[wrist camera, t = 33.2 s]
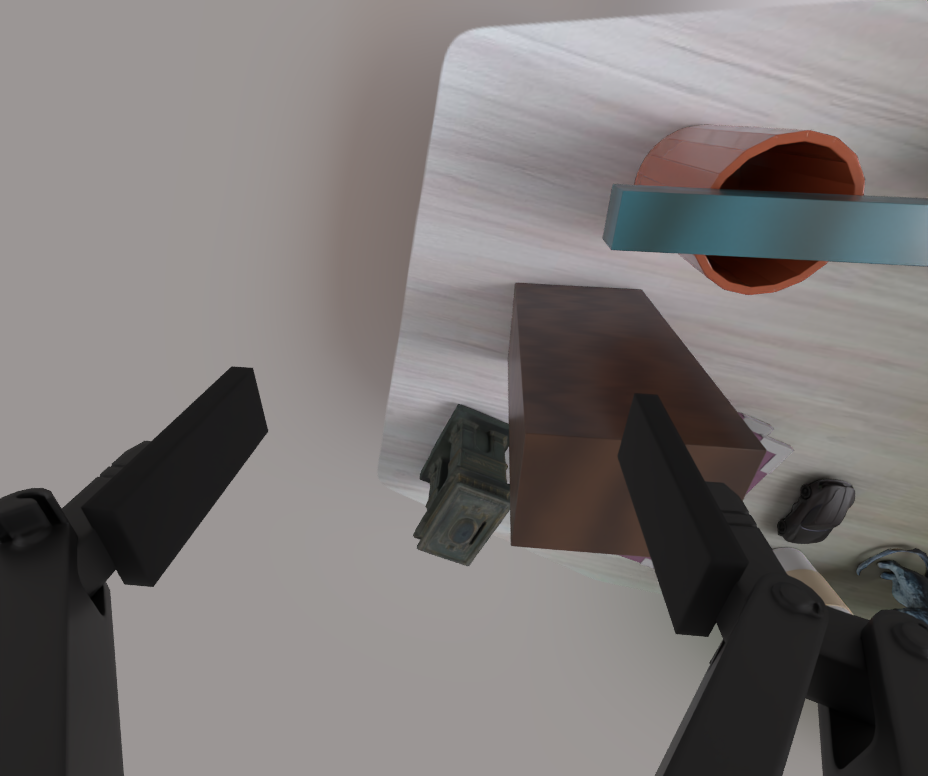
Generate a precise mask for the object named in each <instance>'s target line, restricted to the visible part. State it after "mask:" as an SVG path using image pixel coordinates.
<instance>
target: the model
mask: <svg viewBox="0 0 928 776" xmlns="http://www.w3.org/2000/svg"><path fill="white" fill-rule="evenodd" d="M508 447H509V424H507V423H504V422H502V421H500V420H497V419H495V418H493V417H490V416H488V415H485V414H483V413H481V412H478V411H476V410H473V409H471V408H468V407H465V406H463V405H460V404H458V406H457V408H456V409H455V411H454V413H453V415H452V416H451V418H450V420H449V421H448V423H447V425H446V427H445V428H444V430H443V432H442V434H441V436H440V437H439V439H438V441H437V442H436V444H435V446H434V448H433V450H432V452H431V454H430V456H429V458H428V460H427V462H426V464H425V465H424V467H423V469H422V471H421V473H420V480H423V481H425V482H428V483H430V491H429V500H428V502H427V504H426V508H427V512H426V513H425V515H424V516H423V518H422V520H421V522H420V523H419V525H418V526H417V528H416V530H415V532H414V534H413V536H414V538H417V539H421V540H420V542H419V543H418V545H417V549H418V550H421V551H424V552H427V553H429V554H432V555H435V556H438V557H441V558H444V559H448V560H450V561H454V562H456V563H460V564H463V565H466V566H469V565H470V564H471V562H472V561H473V560H474V558H475V557H476V555H477V554H478V553H479V551H480V550H481V549H482V547H483V546H484V544H485V543H486V542H487V541H488V539H489V538H490V536H491V535H492V534H493V532H494V531H495V530H496V528H497V527H498V526H499V524H500V523H501V521H502V520H503V519H504V517H505V516H506V514H507V513H508V512H509V510H510V484H507V479H506V470H507V468H508V465H507V464H506V462H505V452H506V450H507V448H508Z"/></svg>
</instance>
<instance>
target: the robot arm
mask: <svg viewBox="0 0 928 776" xmlns="http://www.w3.org/2000/svg"><path fill="white" fill-rule="evenodd" d="M267 432H268V429H267V425H266V420H265V416H264V412H263V408H262V404H261V399H260V395H259V391H258V387H257V383H256V379H255V375H254V370H253V368H246V367H231V368H230V369H229V370H227V371H226V372H225V373H224V374H223V375H222V376H221V377H220V378H219V379H218V380H217V381H216V382H215V383H214V384H212V385H211V386H210V387H209V388H208V389H207V390H206V391H205V392H204V393H203V394H202V395H201V396H200V397H198V398H197V399H196V400H195V401H194V402H193V403H192V404H191V405H190V406H189V407H188V408H187V409H186V410H185V411H183V412H182V414H181V415H179V416H178V417H177V418H176V419H175V420H174V421H173V422H172V423H171V424H170V425H168V426H167V427H166V428H165V429H164V430H163V431H162V432H161V433H160V434H159V435H158V436H157V437H156V438H154V439H153V441H144V442H142V443H140V444H138V445H137V446H135V447H133V448H131V449H129V450H127V451H126V452H124V454H122V455H121V456H120V457H119V458H118V459H117V460H116V461H114V462H113V463H112V466H111V467H108V468H107V469H106V470H104V471H103V472H102V473H101V474H100V477H97V478H95V479H94V480H93V481H92V482H91V483H90V484H89V485H88V486H87V487H85V488H84V489H83V490H82V491H81V492H80V493H79V494H78V495H76V496H75V497H74V498H73V499H72V500H71V501H70V502H69V503H68V504H67V505H66V506H64V507H63V508H62V509H61V507H60V505H59V504H58V502H57V501H56V499H55V497H54V496H53V494H52V492H51V491H49V490H47V489H44V488H31V489H26V490H22V491H18V492H15V493H12V494H10V495H7V496H5V497H2V498H1V499H0V776H124V772H123V758H122V745H121V731H120V717H119V704H118V692H117V691H118V690H117V677H116V665H115V664H116V663H115V650H114V637H113V623H112V610H111V596H110V589H109V587H108V585H107V583H106V580H107V579H108V578H109V577H110V576H111V575H112V573H113V572H114V571H115V570H117V572H118V574H119V576H120V577H121V579H122V581H123V583H124V584H127V585H138V586H149V587H154V585H155V584H156V582H157V581H158V580H159V578H160V577H161V576H162V574H163V573H164V572H165V570H166V569H167V567H168V566H169V565H170V564H171V562H172V561H173V560H174V558H175V557H176V555H177V554H178V553H179V551H180V550H181V549H182V547H183V546H184V545H185V543H186V542H187V540H188V539H189V538H190V537H191V535H192V534H193V532H194V531H195V530H196V528H197V527H198V526H199V524H200V523H201V522H202V520H203V519H204V518H205V516H206V515H207V514H208V512H209V511H210V509H211V508H212V507H213V505H214V504H215V503H216V501H217V500H218V499H219V497H220V496H221V495H222V493H223V492H224V491H225V489H226V488H227V486H228V485H229V484H230V482H231V481H232V480H233V478H234V477H235V476H236V474H237V473H238V472H239V470H240V469H241V468H242V466H243V465H244V463H245V462H246V461H247V459H248V458H249V457H250V455H251V454H252V453H253V451H254V450H255V449H256V447H257V446H258V445H259V443H260V442H261V440H262V439H263V438H264V436H265V435H266V434H267ZM617 457H618V460H619V463H620V467H621V470H622V473H623V476H624V479H625V482H626V485H627V488H628V491H629V494H630V497H631V500H632V503H633V506H634V509H635V512H636V515H637V518H638V521H639V524H640V527H641V530H642V533H643V536H644V539H645V542H646V545H647V548H648V551H649V554H650V557H651V560H652V563H653V566H654V569H655V572H656V575H657V578H658V581H659V585H660V588H661V591H662V594H663V597H664V600H665V603H666V606H667V608H668V612H669V615H670V618H671V621H672V624H673V627H674V630H675V633H676V634H682V635H693V636H704V637H708V636H709V634H710V633H711V631H712V629H713V627H714V625H715V624H716V623H717V625H718V627H719V630H720V632H721V635H722V637H723V641H722V642H721V644H720V646H719V648H718V649H717V651H716V653H715V654H714V656H713V658H712V660H711V661H710V666H709V668H708V670H707V672H706V674H705V676H704V678H703V680H702V682H701V684H700V686H699V688H698V690H697V692H696V694H695V696H694V698H693V700H692V702H691V704H690V706H689V708H688V710H687V712H686V714H685V716H684V718H683V720H682V722H681V724H680V726H679V728H678V730H677V732H676V734H675V736H674V738H673V740H672V742H671V744H670V747H669V748H668V750H667V752H666V754H665V756H664V758H663V760H662V762H661V764H660V766H659V768H658V770H657V772H656V774H655V776H782V775H783V771H784V768H785V765H786V761H787V758H788V755H789V751H790V747H791V745H792V741H793V738H794V735H795V731H796V728H797V725H798V721H799V718H800V715H801V711H802V708H803V705H804V701H805V698H806V699H809V700H811V701H814V702H816V703H818V712H819V727H820V740H821V755H822V769H823V776H928V624H926V623H925V622H923V621H921V620H919V619H917V618H915V617H913V616H911V615H909V614H907V613H904V612H900V611H896V610H881V611H879V612H878V613H876V614H875V615H874V616H873V617H872V618H871V620H867V619H864V618H861V617H858V616H855V615H852V614H849V613H846V612H843V611H840V610H837V609H834V608H832V607H829V606H827V605H825V603H824V601H823V599H822V598H821V597H820V596H819V595H818V594H817V593H816V592H815V591H814V590H813V589H812V588H811V587H809V586H808V585H806V584H805V583H803V582H802V581H800V580H798V579H796V578H794V577H791V576H789V575H788V574H787V573H786V571H785V570H784V568H783V567H782V565H781V563H780V562H779V560H778V558H777V557H776V555H775V553H774V552H773V550H772V549H771V547H770V545H769V544H768V542H767V540H766V539H765V537H764V536H763V534H762V532H761V531H760V529H759V528H757V526H756V525H757V524H756V523H755V521H754V519H753V518H752V516H751V515H749V511H748V510H747V508H746V506H745V505H744V503H743V501H742V500H741V498H740V497H739V496H738V495H737V494H736V493H735V492H734V491H733V490H731V489H730V488H729V487H728V486H727V485H726V484H725V483H721V482H707V481H705V480H704V479H703V477H702V475H701V473H700V471H699V469H698V468H697V466H696V464H695V462H694V460H693V458H692V457H691V455H690V453H689V451H688V449H687V447H686V446H685V444H684V442H683V440H682V438H681V436H680V435H679V433H678V431H677V429H676V427H675V426H674V424H673V422H672V420H671V418H670V416H669V415H668V413H667V411H666V409H665V407H664V405H663V404H662V402H661V400H660V398H659V396H658V395H657V394H642V393H634V396H633V400H632V404H631V407H630V411H629V415H628V418H627V422H626V426H625V430H624V433H623V437H622V441H621V444H620V448H619V452H618V456H617Z"/></svg>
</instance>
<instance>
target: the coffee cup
mask: <svg viewBox="0 0 928 776" xmlns="http://www.w3.org/2000/svg"><path fill="white" fill-rule="evenodd" d="M773 552H774V553H775V555H776V557H777V558H778V560H779V562H780V563H781V565H782V567H783V568H784V570H785V571H786V573H787V574H788V575H789V576H791V577H794V578H796V579H798V580H800V581H802V582H803V583H805V584H806V585H808V586H809V587H811V588H812V589H813V590H814V591H815V592H816V593H817V594H818V595H819V596H820V597H821V598H822V599H823V601H824V603H825V605H827V606H829V607H832V608H834V609H837V610H840V611H843V612H846V613H849V614H852V615H853V613H852V612H851V610H850V609H849V608H848V607H847V606H846V604H845V603H844V602H843V601H842V600H841V598H840V597H839V596H838V595H837V593H836V592H835V591H834V590H833V589H832V587H831V586H830V585H829V584H828V583H827V581H826V580H825V579H824V578H823V577H822V575H821V574H819V573H818V572H817V571H816V569H815V568H814V567H813V566H812V564H811V563H810V562H809V561H808V559H807V558H806V557H805V556H804V554H803V553H802V552H801V551H799V550H797V549H794V548H788V547H784V548H777V549H773Z"/></svg>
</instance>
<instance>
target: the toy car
mask: <svg viewBox="0 0 928 776" xmlns="http://www.w3.org/2000/svg"><path fill="white" fill-rule="evenodd" d="M835 492H836V493H835ZM854 500H855V490H854V489H853V487H852V485H851V484H850V483H848V482H846V481H842V480H836V479H823V480H819V481H817V482H814V483H812V484H810V485H803V486H802V487H801V497H800V499H799V501H798V503H795V504H794V505H793V507H792V509H793V510H792V512H791V513H790V514H789V515H788V516H787V517H786V518H785V519H784V520H785V521H783V520H780V521H779V522H778V524H777V528H778V535H780V536H782V537H783V538H784V539H785V540H786V541H788V542H791V543H797V544H810V543H817V542H821V541H823V540H824V539H825V538H826V537H827V536H828V535H829V533H830V532H831V531H832V529H833V528H834V527H836V526H838V525H839V524H840V523H841V522H842V520H843V519H844V517H845V515H846V512H847V510H848V509H849V508H850V507H851V506H852V504H853V503H854ZM825 530H826V531H825Z"/></svg>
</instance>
